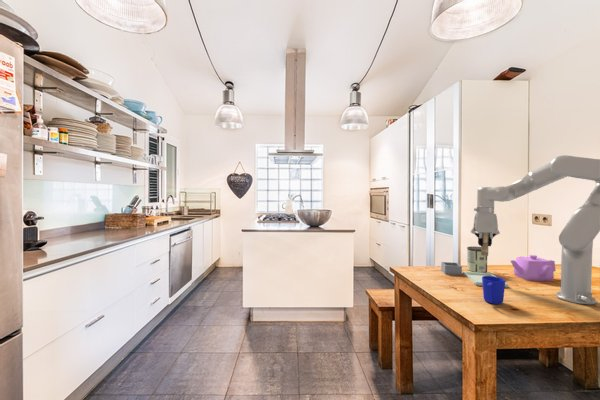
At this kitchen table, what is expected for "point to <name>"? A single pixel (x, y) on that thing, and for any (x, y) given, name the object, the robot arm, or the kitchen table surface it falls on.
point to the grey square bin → (451, 268)
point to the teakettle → (534, 268)
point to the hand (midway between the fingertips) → (484, 245)
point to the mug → (493, 289)
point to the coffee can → (476, 260)
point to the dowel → (485, 244)
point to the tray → (479, 277)
